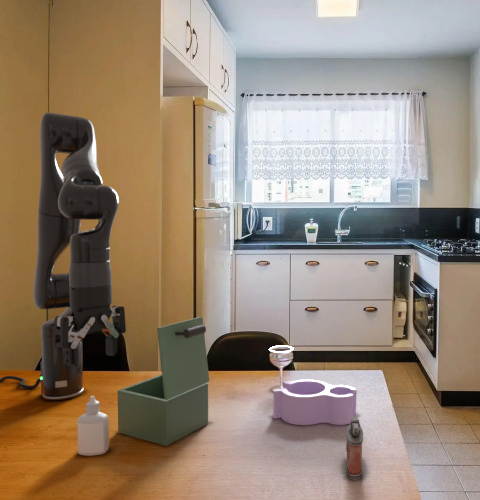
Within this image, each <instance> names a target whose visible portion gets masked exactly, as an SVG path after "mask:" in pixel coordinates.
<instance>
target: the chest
mask: <svg viewBox="0 0 480 500" xmlns="http://www.w3.org/2000/svg"><path fill="white" fill-rule="evenodd" d="M208 424H209V382H207V383H205V384H202V385H200V386H198V387H196V388H193V389H191V390H189V391H186V392H184V393H182V394H179V395H177V396H175V397H172V398H170V399H168V400H165V396H164V387H163V378H162V373H161V374H159V375H156V376H153V377H150V378H147V379H145V380H142V381H139V382H137V383H136V382H135V383H134V384H131V385H129V386H126V387H123V388H121V389H120V388H119V389H117V430H118V431H117V432H118V434H119V433H120V434H123V435H126V436H129V437H133V438H137V439H140V440H143V441H148V442H151V443H154V444H158V445H161V446H165V447H167V446H169V445H171V444H173V443H175V442H177V441H179V440H180V439H182V438H184V437H186V436H188V435H189V434H191V433H193V432H196V431H197V430H199V429H200V428H202V427H205V426H206V425H208Z"/></svg>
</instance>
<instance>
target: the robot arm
mask: <svg viewBox="0 0 480 500" xmlns="http://www.w3.org/2000/svg"><path fill="white" fill-rule="evenodd" d="M97 151H98V150H97V139H96V130H95V127H94V124H93V123H92V121H91V120H90V119H88V118H85V117H82V116H77V115H70V114H62V113H56V112H45V113H43V115H41V118H40V123H39V154H40V156H39V157H40V158H39V159H40V182H39V196H38V197H39V198H38V206H37V207H38V209H37V251H36V252H37V253H36V261H35V270H34V278H33V287H32V288H33V289H32V293H33V294H32V297H33V302H34V305H35V307H36V308H37V309H39V310H52V309H55V310H56V309H63V308H65V310H64V311H63V312H61V314H59V315H56V316H55V317H54V318H51V319H49V320H47V321H44V322H43V323H42V324H41V326H40V333H41V361H40V373H39V378H37V379H36V382H35V384H33V385H28V384H25V383H26V379H25V378H22V377H19V376H14V375H5V376H2V377H1V378H0V383H2V382H3V381H5V380H14V381H18V382H19V383H18V386H19V387H20V388H23V389H27V390H28V389H29V390H32V389H33V390H34V389H36V388H38V386H39V385H40V388H41V389H40V392H41V394H40V395H41V396H42V399H43V400H46V401H63V400H64V401H65V400H68V399H69V400H70V399H73V398H76V397H79V396H80V395H82V394H83V393H84V390H85V389H84V369H83V368H84V367H83V366H84V365H83V364H84V362H83V361H84V360H83V339H85V337H86V335H87V334H93V333H94V332H102V333H103V334H104V335H105V354H106V356H109V357H113V356H116V354H117V352H118V338H119V336H120V335H122V334H125V333H126V332H127V327H126V325H127V323H126V311H125V306H121V305H112V304H113V284H112V283H113V281H112V279H113V277H112V276H113V275H112V267H111V255H110V254H111V248H110V247H111V235H112V228H113V226H114V222H115V219H116V215H117V213H118V211H119V210H118V209H119V204H120V200H119V195H118V193H117V191H116V190H115V189H114V188H113V187H112V186H110V185H103V179H102V176H101V172H100V169H99V167H98V152H97ZM57 154H65V155H67V156H66V157H65V159H64V160H63V161H62V164H61V169H60V167H59V164H58V161H57ZM82 220H83V221H85V220H90V221H91V220H92V221H93V220H94V221H97V224H96V226H95V227H93V228H91V229H88V230H81V226H82V224H81V223H82ZM68 247H69V270H68V271H69V272H65V273H64V272H63V273H62V272H61V273H53V271H54V268H55V265H56V263H57V261H58V260H59V258H60V257H61V256H62V254H63V253H64V252H65V250H67V248H68ZM111 305H112V306H111ZM111 317H112V322H111V320H110V318H111Z"/></svg>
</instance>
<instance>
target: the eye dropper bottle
mask: <svg viewBox="0 0 480 500" xmlns="http://www.w3.org/2000/svg"><path fill="white" fill-rule="evenodd" d="M76 421H77V422H76V434H77V435H76V436H77V437H76V438H77V439H76V440H77V454H78V455H80V456H87V457H91V456H92V457H93V456H99V455H103V454H105V453H107V451H108V450H109V449H110V432H109V431H110V430H109V429H110V427H109V426H110V425H109V416H108V415H107V414H106V413H104V412H101V411H100V401H99V400H96V397H95V395H91V396H90V398H89V400H88V401H87V402H86V403H85V413H83V414H82V415H80V416H79V417H78V418H77V420H76Z"/></svg>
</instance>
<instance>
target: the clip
mask: <svg viewBox="0 0 480 500" xmlns="http://www.w3.org/2000/svg"><path fill="white" fill-rule="evenodd" d="M282 387H283V388H281V389H275V390H273V391H272V392H273V395H272V397H273V399H272V401H273V402H272V403H273V404H272V405H273V406H272V418H273V419H281V420H283V421H284V422H285V423H288V424H291V425H298V426H310V425H311V426H312V425H316V424H322V423H323V424H324V423H325V424H326V423H327V424H330V425H335V426H343V425H344V426H345V425H351V419H352V417H357V388H356V387H354V386H351V385H347V384H346V385H345V384H331V383H327V382H326V381H322V380H318V379H297V380H292V381H289V380H282Z"/></svg>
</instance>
